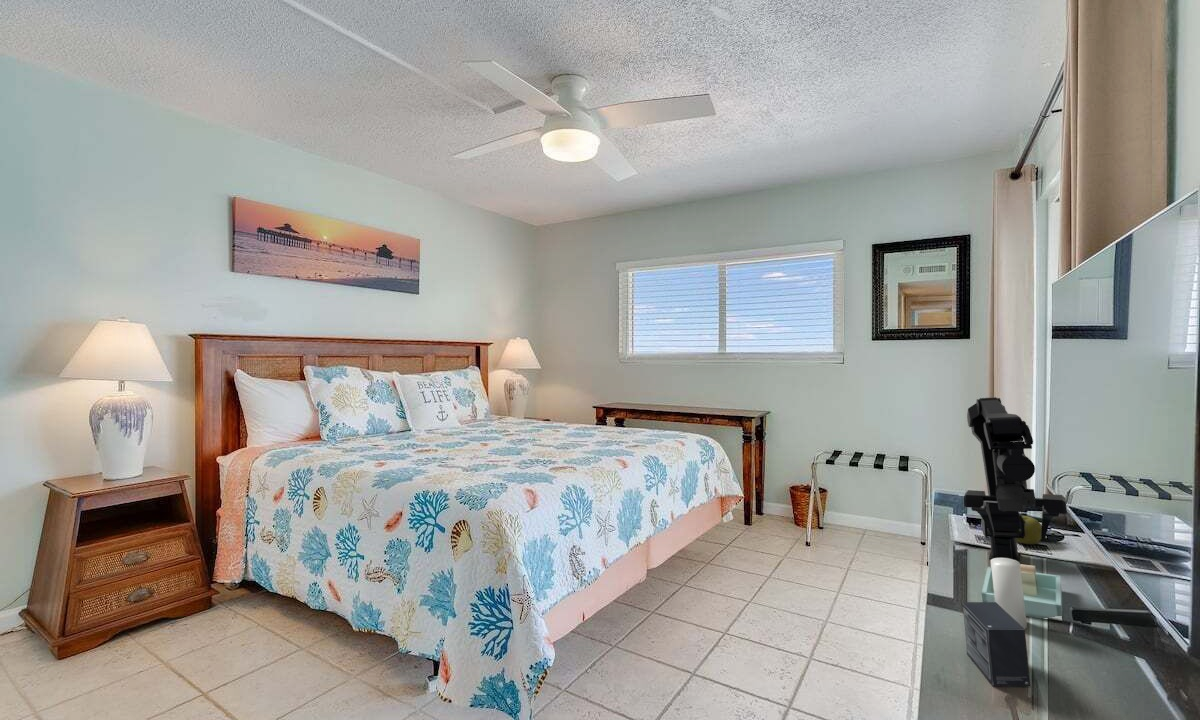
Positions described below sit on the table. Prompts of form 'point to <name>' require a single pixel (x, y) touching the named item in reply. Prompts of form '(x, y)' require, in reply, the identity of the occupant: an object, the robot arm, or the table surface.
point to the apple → (1031, 531)
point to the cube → (1029, 579)
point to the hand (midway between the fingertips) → (1017, 538)
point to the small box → (996, 644)
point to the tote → (1035, 606)
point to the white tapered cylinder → (1009, 588)
